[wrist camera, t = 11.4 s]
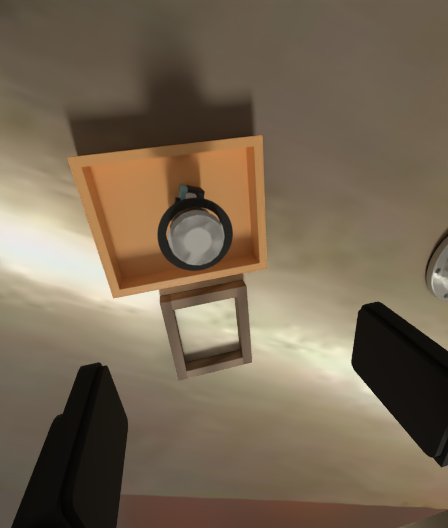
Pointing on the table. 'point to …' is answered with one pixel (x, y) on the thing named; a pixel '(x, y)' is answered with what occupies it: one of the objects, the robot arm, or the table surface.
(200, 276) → the parts tray
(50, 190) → the table surface
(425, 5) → the table surface
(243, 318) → the component holder
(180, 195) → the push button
